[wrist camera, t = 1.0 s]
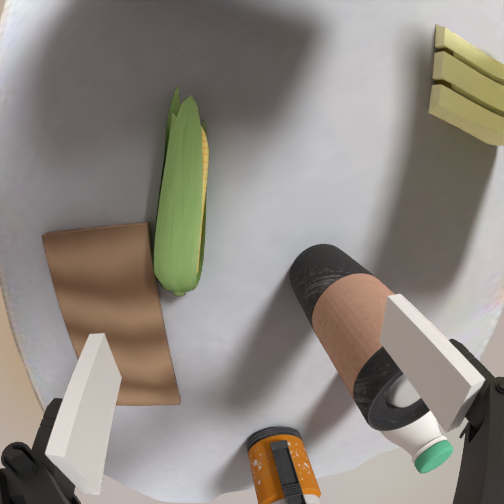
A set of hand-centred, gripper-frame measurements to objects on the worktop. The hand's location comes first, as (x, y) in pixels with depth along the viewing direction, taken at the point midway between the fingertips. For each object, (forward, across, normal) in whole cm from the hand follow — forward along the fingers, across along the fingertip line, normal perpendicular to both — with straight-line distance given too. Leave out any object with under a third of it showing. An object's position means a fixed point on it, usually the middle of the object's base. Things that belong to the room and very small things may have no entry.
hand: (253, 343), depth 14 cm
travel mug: (+20, +10, -7) cm, 24 cm away
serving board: (+19, -14, -11) cm, 27 cm away
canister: (+19, +4, -36) cm, 41 cm away
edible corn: (+20, -4, +3) cm, 21 cm away
